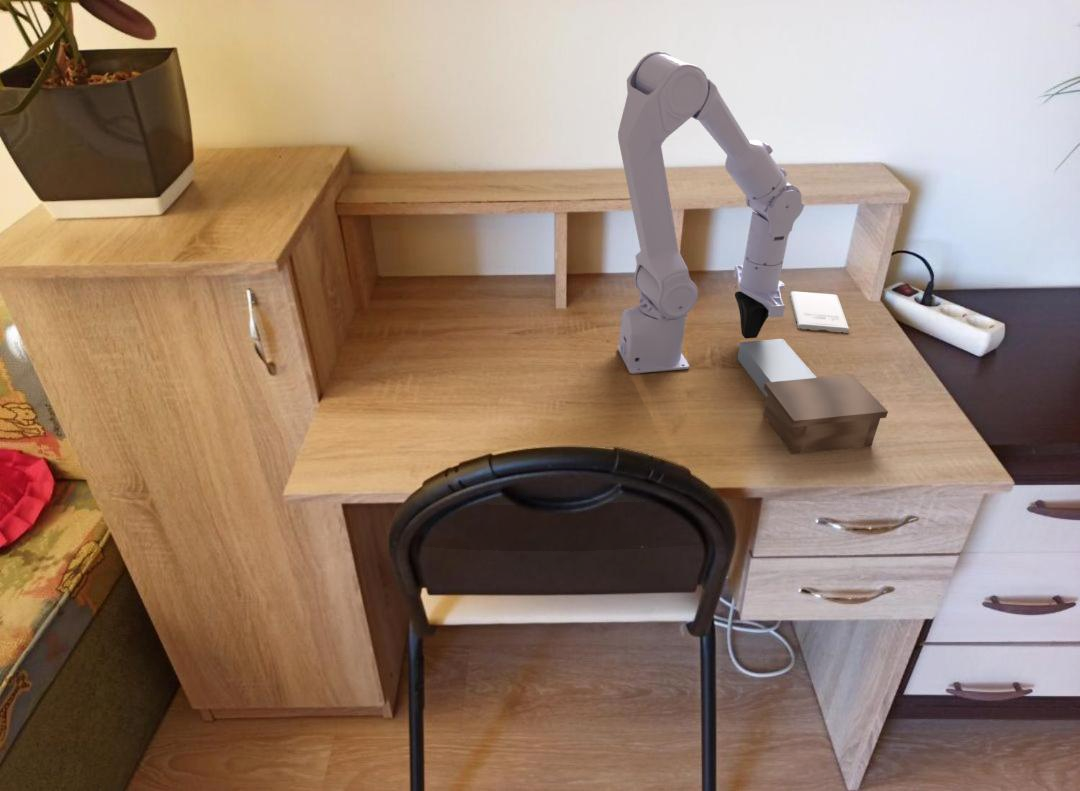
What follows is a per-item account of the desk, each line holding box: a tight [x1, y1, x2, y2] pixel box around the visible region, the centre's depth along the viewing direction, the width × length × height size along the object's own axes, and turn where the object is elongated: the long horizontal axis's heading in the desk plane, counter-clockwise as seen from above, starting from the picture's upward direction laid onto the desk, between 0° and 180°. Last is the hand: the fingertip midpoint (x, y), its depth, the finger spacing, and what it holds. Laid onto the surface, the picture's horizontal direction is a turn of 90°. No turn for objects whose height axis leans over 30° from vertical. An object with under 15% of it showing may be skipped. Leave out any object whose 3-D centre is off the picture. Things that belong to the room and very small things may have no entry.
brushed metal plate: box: [736, 338, 818, 399], centre depth 113 cm, size 7×14×3 cm, turn 10°
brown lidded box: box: [763, 374, 889, 455], centre depth 102 cm, size 13×9×6 cm
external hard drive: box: [789, 290, 850, 334], centre depth 132 cm, size 2×8×12 cm
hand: (749, 336), depth 122 cm, fingers closed
